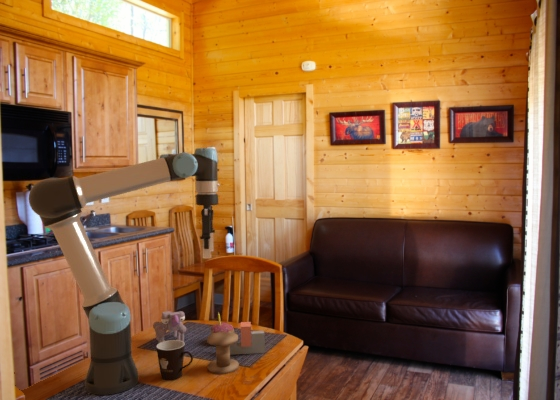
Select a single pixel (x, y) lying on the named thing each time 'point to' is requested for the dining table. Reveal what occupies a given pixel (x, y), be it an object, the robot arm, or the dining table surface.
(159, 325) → the pale pink animal-shaped figure
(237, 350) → the notch board
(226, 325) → the cupcake
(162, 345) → the coffee mug
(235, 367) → the door knob
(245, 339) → the salmon pink block
